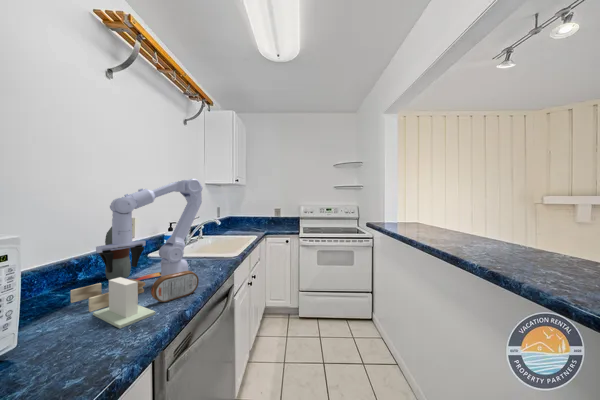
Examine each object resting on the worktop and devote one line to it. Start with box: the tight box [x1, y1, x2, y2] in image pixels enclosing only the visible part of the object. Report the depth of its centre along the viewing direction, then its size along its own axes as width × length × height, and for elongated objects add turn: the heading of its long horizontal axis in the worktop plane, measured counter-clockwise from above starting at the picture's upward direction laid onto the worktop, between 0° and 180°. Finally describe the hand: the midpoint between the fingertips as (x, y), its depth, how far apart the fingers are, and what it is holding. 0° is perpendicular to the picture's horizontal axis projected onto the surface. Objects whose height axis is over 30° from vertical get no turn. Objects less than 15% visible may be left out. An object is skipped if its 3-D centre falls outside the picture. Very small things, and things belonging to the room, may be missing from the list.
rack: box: [70, 282, 109, 313], centre depth 78 cm, size 8×15×4 cm, turn 60°
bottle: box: [104, 226, 132, 281], centre depth 106 cm, size 9×9×30 cm
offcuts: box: [129, 279, 146, 295], centre depth 88 cm, size 3×11×4 cm, turn 61°
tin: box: [150, 270, 200, 303], centre depth 81 cm, size 15×3×8 cm, turn 141°
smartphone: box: [125, 271, 161, 282], centre depth 103 cm, size 7×15×1 cm, turn 128°
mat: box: [92, 304, 156, 329], centre depth 69 cm, size 9×16×1 cm, turn 60°
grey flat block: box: [108, 277, 139, 318], centre depth 69 cm, size 3×10×9 cm, turn 61°
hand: (122, 269), depth 84 cm, fingers open, 7 cm apart
